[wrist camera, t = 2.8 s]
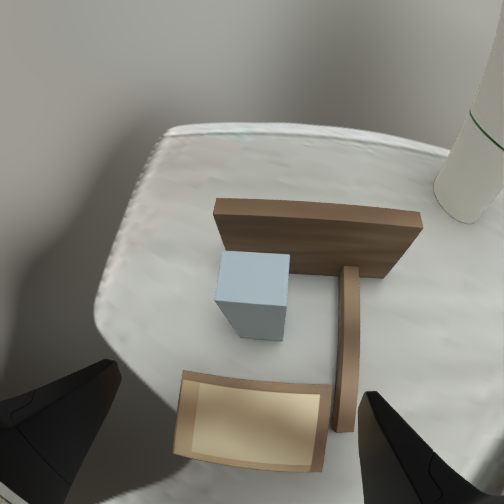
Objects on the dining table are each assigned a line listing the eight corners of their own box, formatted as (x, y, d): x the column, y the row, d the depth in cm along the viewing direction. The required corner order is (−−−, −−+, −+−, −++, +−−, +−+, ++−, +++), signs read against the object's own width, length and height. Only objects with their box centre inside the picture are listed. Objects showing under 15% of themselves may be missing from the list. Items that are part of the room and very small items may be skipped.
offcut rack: (376, 465, 14) (421, 495, 7) (175, 451, 16) (125, 476, 9) (382, 265, 22) (419, 212, 15) (206, 254, 24) (179, 197, 17)
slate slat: (282, 341, 20) (286, 306, 12) (240, 337, 21) (214, 300, 12) (285, 309, 21) (289, 254, 13) (244, 307, 22) (222, 250, 13)
